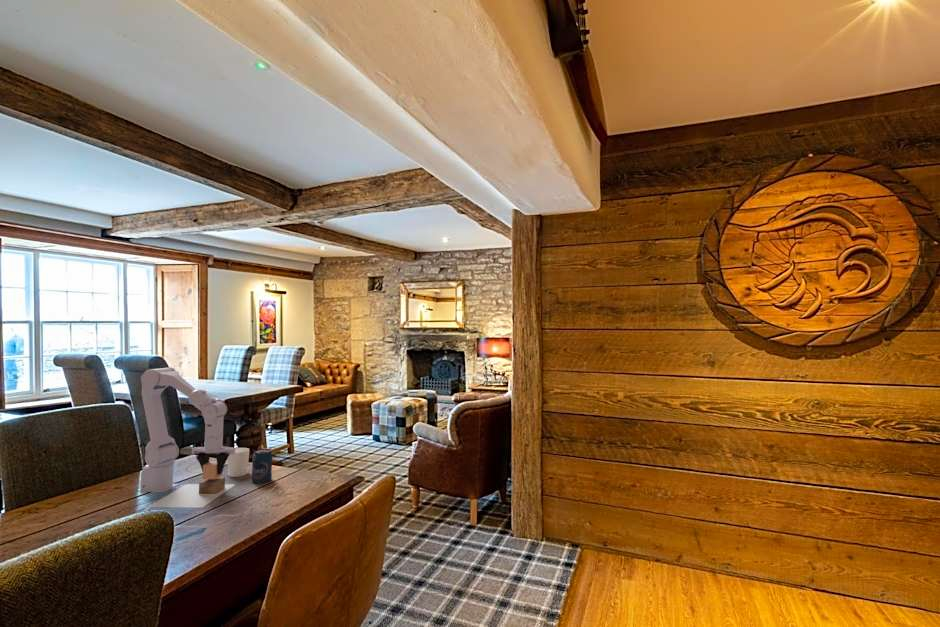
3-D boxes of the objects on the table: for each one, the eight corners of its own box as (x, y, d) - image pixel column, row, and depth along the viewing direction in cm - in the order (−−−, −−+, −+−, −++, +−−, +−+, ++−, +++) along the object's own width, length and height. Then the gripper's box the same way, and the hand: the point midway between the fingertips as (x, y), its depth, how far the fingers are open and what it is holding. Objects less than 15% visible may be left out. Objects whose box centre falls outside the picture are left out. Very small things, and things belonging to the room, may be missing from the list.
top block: (202, 479, 160) (203, 464, 160) (209, 475, 165) (209, 461, 165) (215, 479, 160) (215, 465, 160) (221, 475, 165) (222, 461, 165)
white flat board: (146, 508, 147) (146, 506, 147) (186, 485, 169) (186, 483, 169) (202, 509, 147) (202, 507, 147) (235, 485, 169) (235, 484, 169)
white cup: (252, 472, 185) (253, 448, 185) (240, 479, 177) (241, 453, 177) (234, 471, 186) (235, 447, 186) (222, 478, 178) (223, 452, 178)
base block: (198, 493, 159) (199, 482, 159) (208, 487, 165) (208, 476, 165) (215, 494, 159) (216, 482, 160) (224, 488, 165) (225, 477, 166)
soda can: (250, 486, 169) (251, 453, 170) (253, 479, 176) (254, 449, 176) (269, 484, 171) (270, 452, 172) (272, 478, 178) (273, 448, 178)
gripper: (186, 438, 159) (185, 477, 158) (228, 438, 159) (227, 477, 159) (198, 433, 166) (197, 470, 165) (238, 434, 166) (237, 471, 166)
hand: (212, 473), depth 163 cm, fingers closed on top block, 4 cm apart
